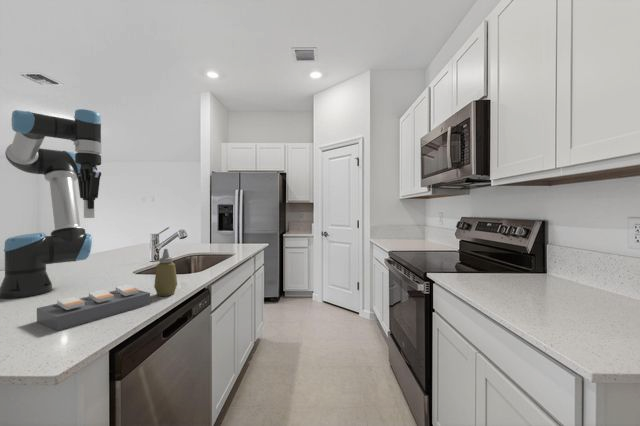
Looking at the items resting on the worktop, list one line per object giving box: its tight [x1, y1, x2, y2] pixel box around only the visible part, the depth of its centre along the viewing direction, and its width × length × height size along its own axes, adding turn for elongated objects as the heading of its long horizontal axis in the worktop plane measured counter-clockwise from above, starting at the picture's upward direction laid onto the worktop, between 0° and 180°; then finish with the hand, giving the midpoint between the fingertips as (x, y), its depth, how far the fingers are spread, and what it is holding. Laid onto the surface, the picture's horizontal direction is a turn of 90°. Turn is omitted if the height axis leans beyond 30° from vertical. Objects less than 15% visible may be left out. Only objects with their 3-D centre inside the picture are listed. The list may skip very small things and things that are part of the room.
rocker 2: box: [115, 283, 139, 296], centre depth 102 cm, size 6×4×1 cm
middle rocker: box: [88, 289, 114, 303], centre depth 95 cm, size 6×4×1 cm
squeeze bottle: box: [154, 248, 178, 297], centre depth 116 cm, size 8×8×18 cm
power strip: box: [36, 289, 151, 332], centre depth 98 cm, size 20×26×5 cm
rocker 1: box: [56, 295, 85, 310], centre depth 88 cm, size 6×4×1 cm
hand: (89, 217), depth 108 cm, fingers closed
